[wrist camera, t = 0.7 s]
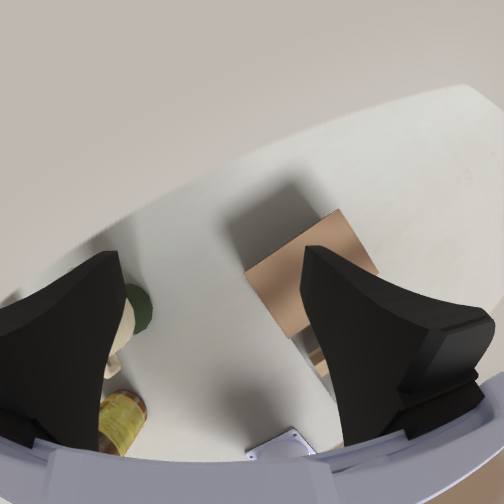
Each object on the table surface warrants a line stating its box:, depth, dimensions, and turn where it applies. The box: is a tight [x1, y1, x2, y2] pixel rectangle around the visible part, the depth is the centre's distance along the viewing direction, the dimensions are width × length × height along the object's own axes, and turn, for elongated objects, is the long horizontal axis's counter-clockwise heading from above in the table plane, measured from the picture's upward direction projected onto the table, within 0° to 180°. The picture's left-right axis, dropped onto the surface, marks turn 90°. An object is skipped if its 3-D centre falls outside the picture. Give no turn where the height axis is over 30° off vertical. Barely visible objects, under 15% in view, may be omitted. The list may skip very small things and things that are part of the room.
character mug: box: [68, 268, 153, 379], centre depth 26 cm, size 11×7×13 cm, turn 18°
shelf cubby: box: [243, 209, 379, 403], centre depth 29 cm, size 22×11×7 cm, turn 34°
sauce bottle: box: [98, 390, 147, 457], centre depth 22 cm, size 7×6×20 cm
